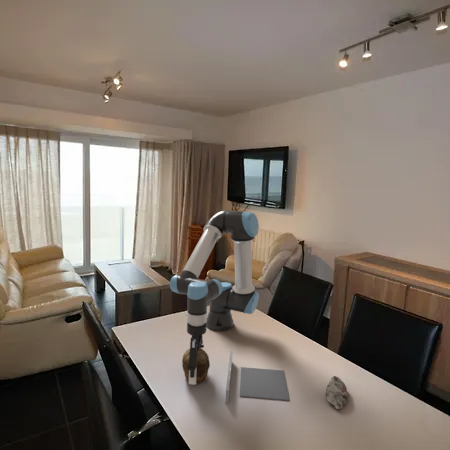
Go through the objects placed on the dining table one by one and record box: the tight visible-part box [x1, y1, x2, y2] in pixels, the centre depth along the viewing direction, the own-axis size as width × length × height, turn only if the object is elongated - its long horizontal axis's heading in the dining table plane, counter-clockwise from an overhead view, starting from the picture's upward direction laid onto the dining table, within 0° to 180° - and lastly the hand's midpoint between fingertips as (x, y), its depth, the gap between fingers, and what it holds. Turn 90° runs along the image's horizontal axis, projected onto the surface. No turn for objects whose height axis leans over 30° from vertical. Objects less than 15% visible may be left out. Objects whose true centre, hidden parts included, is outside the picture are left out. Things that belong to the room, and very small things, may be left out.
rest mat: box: [239, 366, 290, 401], centre depth 122 cm, size 18×18×1 cm
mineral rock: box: [325, 375, 350, 410], centre depth 115 cm, size 15×8×4 cm, turn 145°
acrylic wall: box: [225, 351, 233, 405], centre depth 123 cm, size 26×1×5 cm, turn 176°
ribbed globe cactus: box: [181, 348, 211, 384], centre depth 123 cm, size 11×11×12 cm
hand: (195, 373), depth 123 cm, fingers open, 13 cm apart
